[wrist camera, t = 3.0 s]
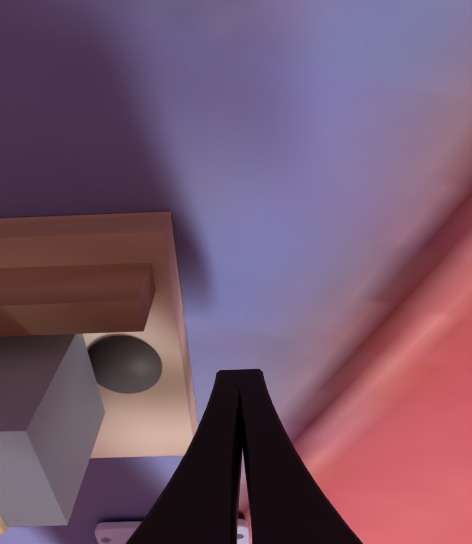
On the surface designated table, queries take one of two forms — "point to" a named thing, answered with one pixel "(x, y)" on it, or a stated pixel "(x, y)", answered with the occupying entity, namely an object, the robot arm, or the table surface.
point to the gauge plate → (108, 317)
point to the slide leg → (45, 427)
